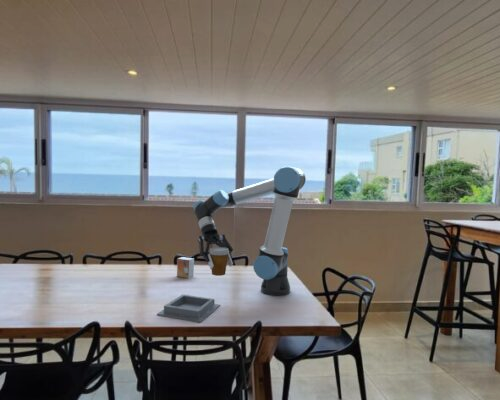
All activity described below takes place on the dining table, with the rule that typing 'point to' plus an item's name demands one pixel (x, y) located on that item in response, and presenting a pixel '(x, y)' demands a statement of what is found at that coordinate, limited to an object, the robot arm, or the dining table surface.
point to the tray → (189, 308)
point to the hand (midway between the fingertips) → (221, 266)
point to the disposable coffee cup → (219, 260)
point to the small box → (185, 267)
